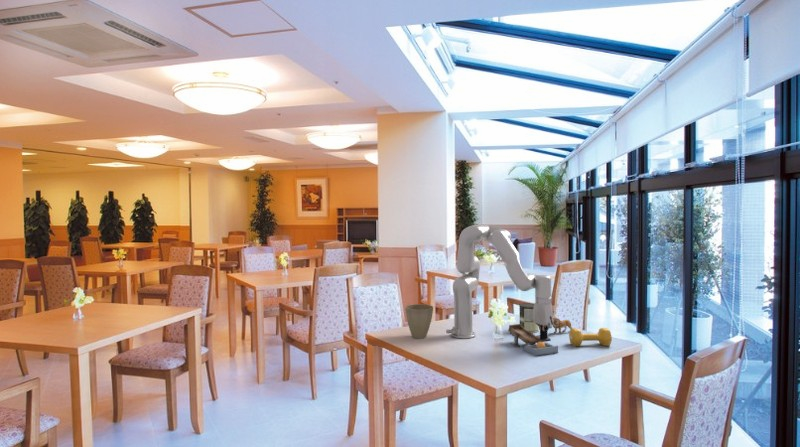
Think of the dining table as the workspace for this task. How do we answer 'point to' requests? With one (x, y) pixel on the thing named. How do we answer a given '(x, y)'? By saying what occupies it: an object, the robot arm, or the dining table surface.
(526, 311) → the coffee can
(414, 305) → the plant pot
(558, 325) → the lion figurine
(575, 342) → the dumbbell
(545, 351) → the tray
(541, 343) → the ball
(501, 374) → the dining table surface
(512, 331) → the brown tilting tray
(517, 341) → the lever stand
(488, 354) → the dining table surface
